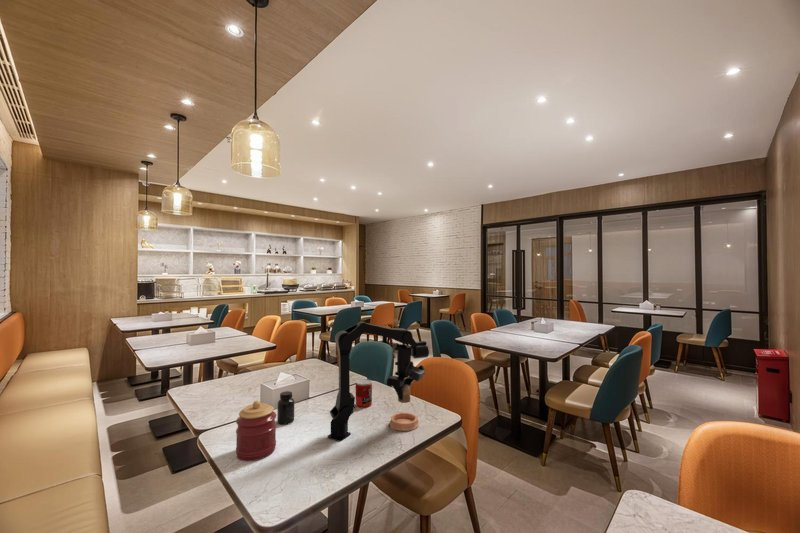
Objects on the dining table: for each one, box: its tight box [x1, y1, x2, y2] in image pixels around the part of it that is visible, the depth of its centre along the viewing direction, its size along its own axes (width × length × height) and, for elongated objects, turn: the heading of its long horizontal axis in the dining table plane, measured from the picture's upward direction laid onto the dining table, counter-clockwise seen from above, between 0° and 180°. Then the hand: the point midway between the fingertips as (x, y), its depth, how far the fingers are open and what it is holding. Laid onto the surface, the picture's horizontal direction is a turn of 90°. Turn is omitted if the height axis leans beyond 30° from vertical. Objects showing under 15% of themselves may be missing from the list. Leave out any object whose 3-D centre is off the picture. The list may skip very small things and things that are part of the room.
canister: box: [235, 400, 277, 462], centre depth 117 cm, size 13×13×18 cm
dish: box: [389, 412, 420, 432], centre depth 138 cm, size 12×12×3 cm
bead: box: [397, 384, 411, 404], centre depth 138 cm, size 5×5×6 cm
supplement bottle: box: [276, 390, 295, 426], centre depth 141 cm, size 7×7×12 cm
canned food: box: [355, 378, 373, 409], centre depth 159 cm, size 8×8×11 cm
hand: (404, 397), depth 138 cm, fingers closed on bead, 5 cm apart
